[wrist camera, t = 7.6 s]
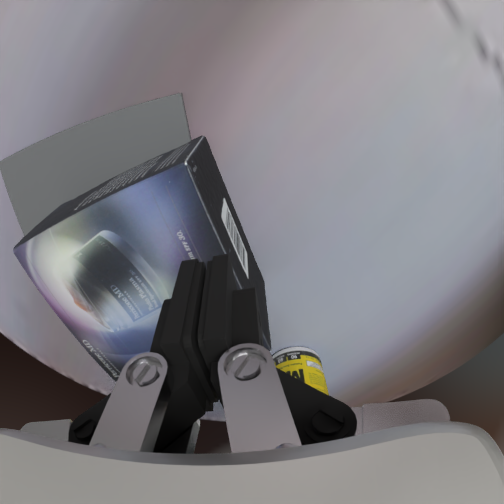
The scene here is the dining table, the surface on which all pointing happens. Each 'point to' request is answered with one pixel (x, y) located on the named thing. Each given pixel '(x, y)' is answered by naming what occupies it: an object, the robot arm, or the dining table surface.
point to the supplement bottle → (302, 366)
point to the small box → (136, 251)
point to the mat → (90, 156)
